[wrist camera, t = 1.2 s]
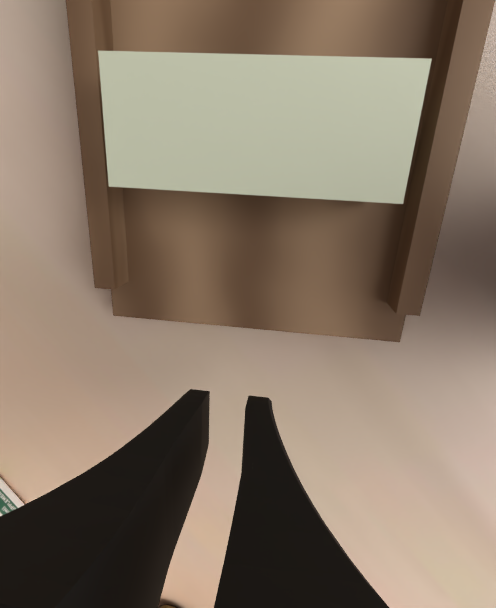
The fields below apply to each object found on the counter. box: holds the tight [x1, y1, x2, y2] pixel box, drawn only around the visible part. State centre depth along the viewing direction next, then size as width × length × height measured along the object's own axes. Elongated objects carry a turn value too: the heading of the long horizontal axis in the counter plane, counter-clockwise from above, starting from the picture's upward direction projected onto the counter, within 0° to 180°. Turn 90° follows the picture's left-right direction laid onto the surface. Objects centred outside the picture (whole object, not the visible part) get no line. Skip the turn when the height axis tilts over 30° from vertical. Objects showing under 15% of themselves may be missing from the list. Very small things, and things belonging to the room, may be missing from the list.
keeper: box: [98, 51, 432, 204], centre depth 13 cm, size 10×4×4 cm, turn 87°
